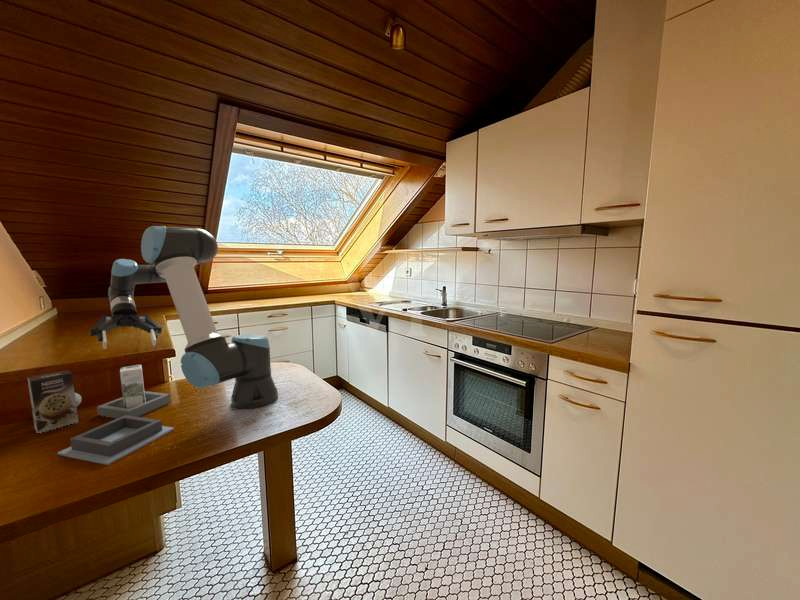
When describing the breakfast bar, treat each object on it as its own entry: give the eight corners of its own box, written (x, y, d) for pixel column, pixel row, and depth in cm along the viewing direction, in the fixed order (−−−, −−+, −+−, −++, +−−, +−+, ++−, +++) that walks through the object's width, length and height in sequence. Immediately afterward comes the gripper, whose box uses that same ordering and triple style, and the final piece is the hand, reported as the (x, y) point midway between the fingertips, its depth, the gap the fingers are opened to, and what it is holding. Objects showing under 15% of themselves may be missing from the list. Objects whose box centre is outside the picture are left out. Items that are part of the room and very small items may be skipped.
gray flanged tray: (174, 429, 102) (172, 417, 101) (107, 465, 85) (105, 451, 84) (129, 422, 107) (127, 411, 106) (57, 454, 90) (55, 441, 89)
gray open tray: (170, 402, 121) (169, 394, 121) (129, 420, 108) (128, 411, 108) (141, 398, 125) (140, 390, 125) (98, 415, 112) (96, 406, 112)
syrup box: (146, 403, 121) (141, 363, 119) (146, 409, 116) (141, 367, 114) (125, 408, 118) (120, 366, 116) (124, 414, 113) (119, 371, 111)
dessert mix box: (37, 434, 100) (29, 381, 98) (34, 428, 104) (25, 377, 102) (79, 422, 108) (72, 372, 106) (75, 417, 111) (67, 368, 109)
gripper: (161, 318, 142) (171, 350, 130) (78, 318, 125) (81, 356, 112) (164, 302, 140) (174, 333, 127) (80, 301, 122) (82, 337, 109)
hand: (130, 344), depth 119 cm, fingers open, 13 cm apart
